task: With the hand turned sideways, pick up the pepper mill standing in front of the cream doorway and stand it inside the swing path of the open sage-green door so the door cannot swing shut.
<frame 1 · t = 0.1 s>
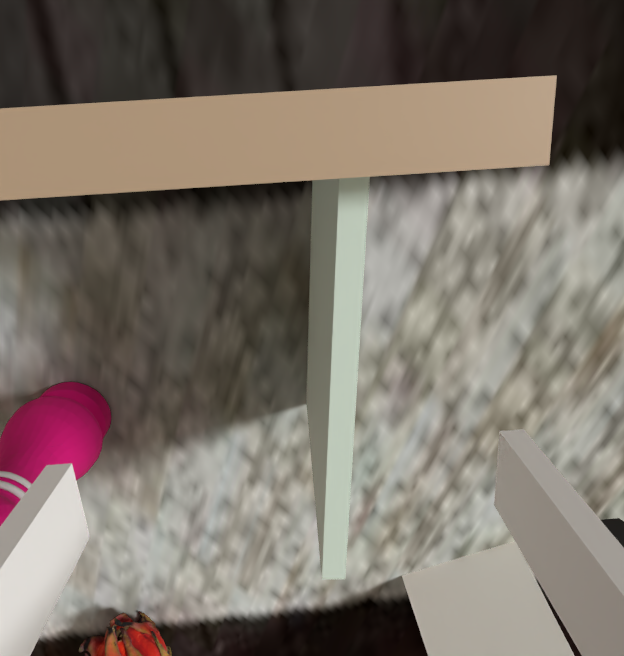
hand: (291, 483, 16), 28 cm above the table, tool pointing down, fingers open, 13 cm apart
door: (337, 332, 33), point 11 cm above the table, hinge at 85.0°
milk: (470, 597, 55), on the table
dragon fruit: (137, 634, 54), on the table
door frame: (98, 157, 39), on the table
pepper mill: (76, 412, 46), on the table
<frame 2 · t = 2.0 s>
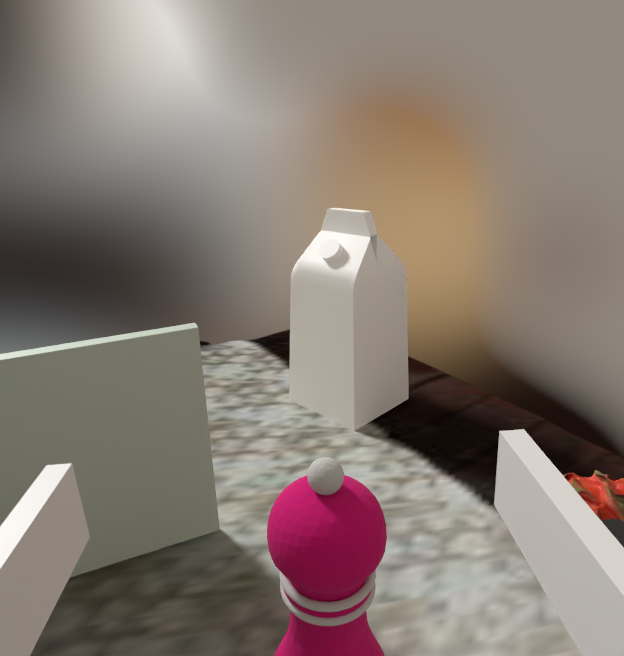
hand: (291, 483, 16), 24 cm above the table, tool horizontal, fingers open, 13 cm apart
door: (84, 458, 42), point 11 cm above the table, hinge at 85.0°
milk: (348, 400, 73), on the table
dragon fruit: (583, 562, 45), on the table
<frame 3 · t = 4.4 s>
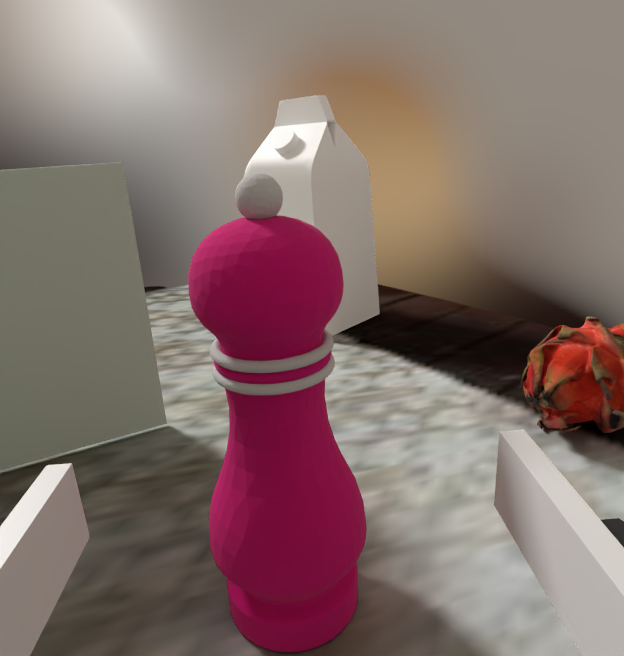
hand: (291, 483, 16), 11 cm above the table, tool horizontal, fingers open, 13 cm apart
milk: (315, 319, 67), on the table
dragon fruit: (580, 424, 40), on the table
pepper mill: (294, 599, 26), on the table
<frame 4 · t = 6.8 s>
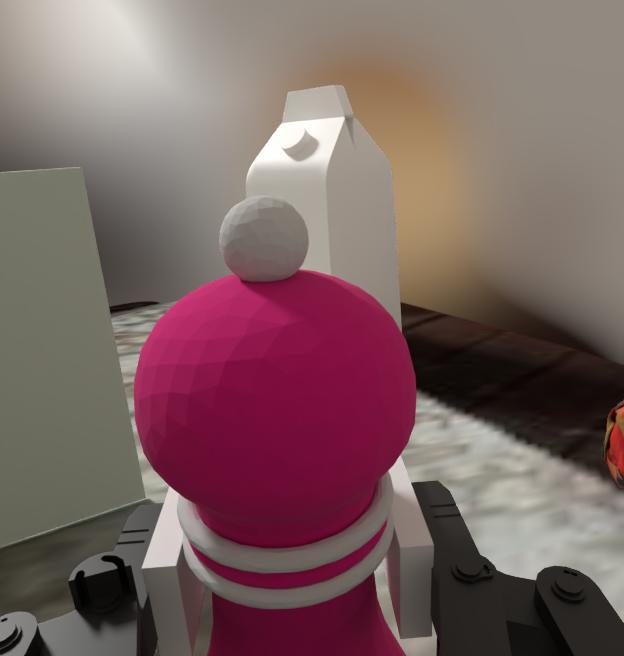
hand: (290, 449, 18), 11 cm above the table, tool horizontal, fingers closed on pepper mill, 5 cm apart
milk: (327, 346, 58), on the table
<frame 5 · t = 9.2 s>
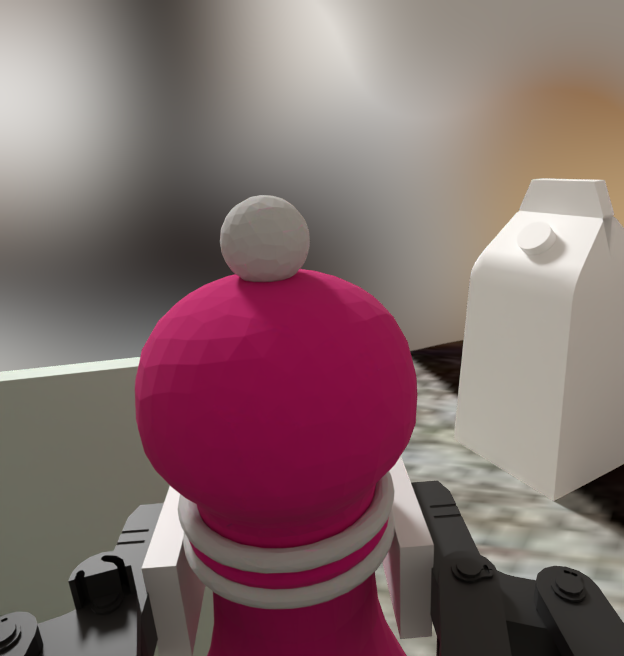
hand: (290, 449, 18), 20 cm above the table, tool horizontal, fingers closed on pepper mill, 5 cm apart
door: (168, 522, 29), point 11 cm above the table, hinge at 85.0°
milk: (539, 450, 52), on the table
when the fingers open (12 cm above the table, at t = 11.9 s): pepper mill drops 1 cm, on the table.
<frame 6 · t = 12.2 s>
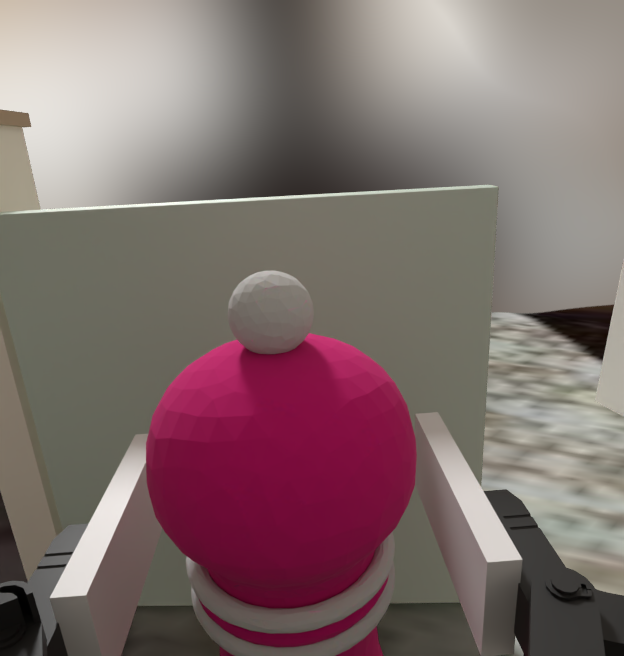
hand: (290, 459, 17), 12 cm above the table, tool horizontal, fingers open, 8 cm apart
door: (260, 417, 24), point 10 cm above the table, hinge at 85.0°
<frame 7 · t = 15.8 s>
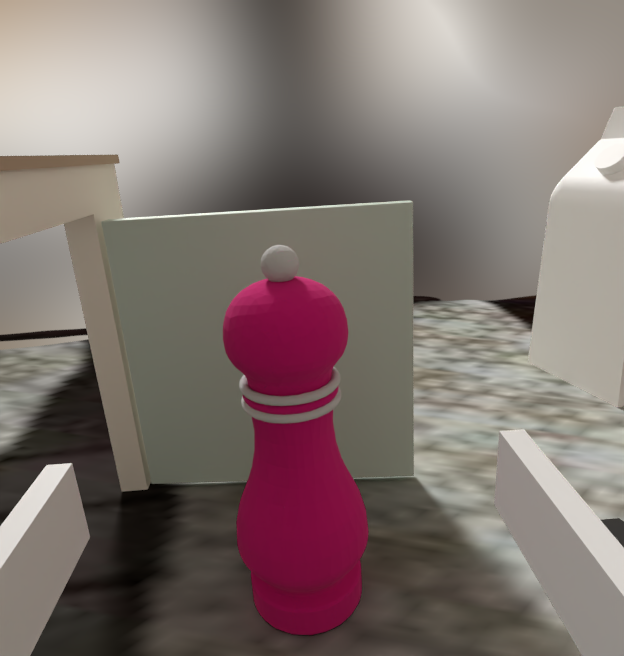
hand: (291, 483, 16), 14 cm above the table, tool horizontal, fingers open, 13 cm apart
door: (270, 351, 38), point 11 cm above the table, hinge at 85.0°
milk: (612, 374, 55), on the table
pepper mill: (308, 592, 30), on the table
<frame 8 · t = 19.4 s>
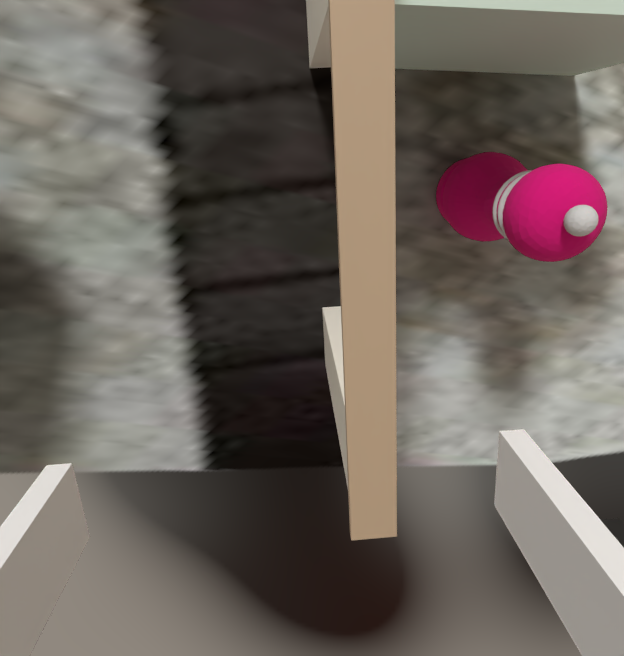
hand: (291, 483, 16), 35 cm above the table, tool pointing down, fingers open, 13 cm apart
door: (506, 27, 34), point 11 cm above the table, hinge at 85.0°
door frame: (330, 256, 49), on the table
pepper mill: (468, 193, 48), on the table
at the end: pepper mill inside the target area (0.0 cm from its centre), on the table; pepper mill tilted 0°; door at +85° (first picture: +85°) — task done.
